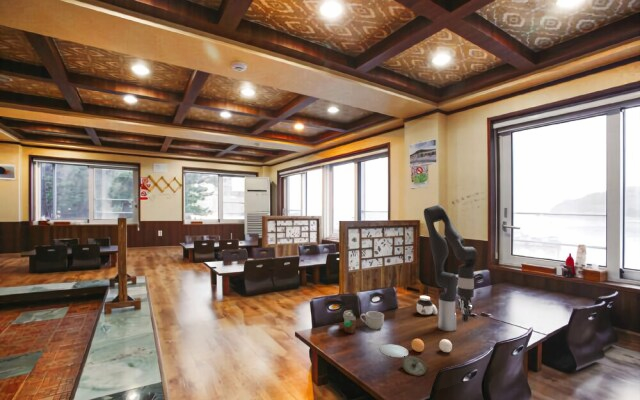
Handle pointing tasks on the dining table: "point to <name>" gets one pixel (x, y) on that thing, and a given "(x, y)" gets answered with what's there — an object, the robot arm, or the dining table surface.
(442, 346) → the cue ball
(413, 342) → the object ball
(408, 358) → the lid
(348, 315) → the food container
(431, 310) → the spread jar
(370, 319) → the teacup
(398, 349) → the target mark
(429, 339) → the dining table surface
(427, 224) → the robot arm
